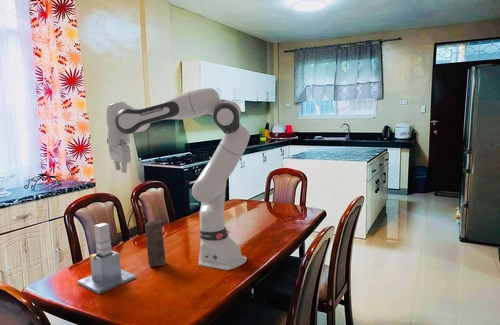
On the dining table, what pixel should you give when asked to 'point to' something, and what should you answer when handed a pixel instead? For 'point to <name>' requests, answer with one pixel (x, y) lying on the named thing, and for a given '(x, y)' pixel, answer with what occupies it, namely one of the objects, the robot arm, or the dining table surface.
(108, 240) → the column
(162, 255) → the grey upright block
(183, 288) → the dining table surface
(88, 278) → the stand
